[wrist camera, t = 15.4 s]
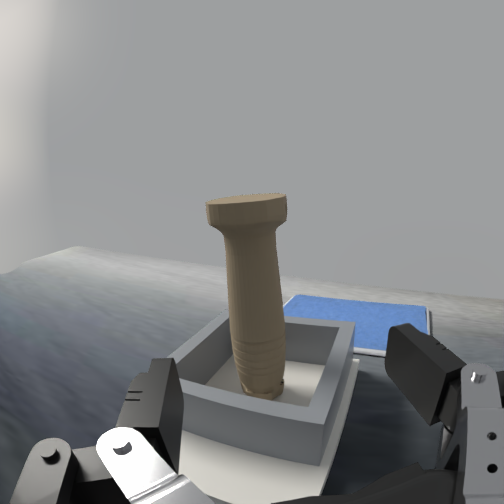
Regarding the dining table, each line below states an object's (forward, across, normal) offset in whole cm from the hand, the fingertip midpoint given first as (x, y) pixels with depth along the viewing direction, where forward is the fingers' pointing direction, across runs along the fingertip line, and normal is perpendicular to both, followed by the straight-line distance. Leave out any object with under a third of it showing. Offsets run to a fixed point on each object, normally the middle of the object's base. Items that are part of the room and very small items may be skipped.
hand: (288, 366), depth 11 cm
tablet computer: (+22, -12, +12) cm, 27 cm away
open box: (+9, +1, +11) cm, 14 cm away
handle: (+10, 0, +10) cm, 14 cm away
